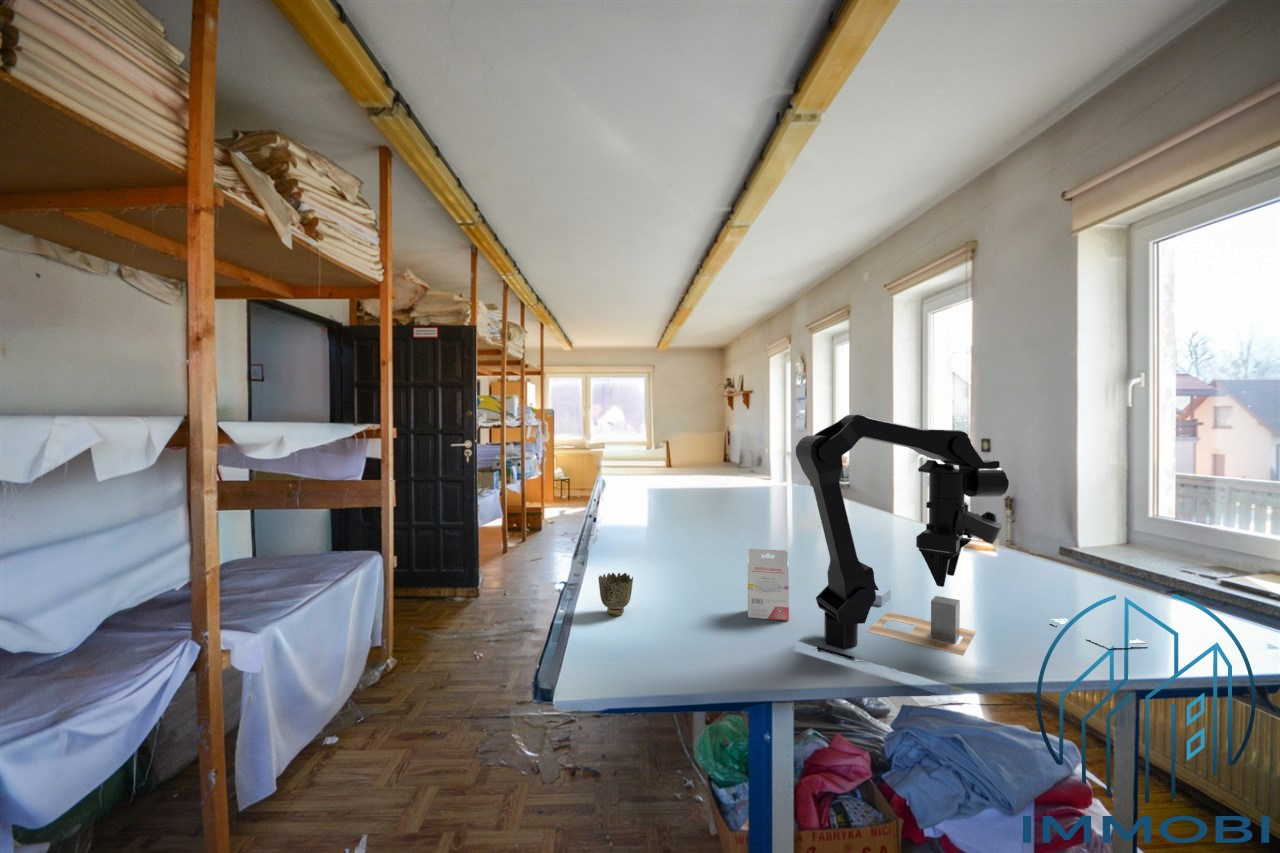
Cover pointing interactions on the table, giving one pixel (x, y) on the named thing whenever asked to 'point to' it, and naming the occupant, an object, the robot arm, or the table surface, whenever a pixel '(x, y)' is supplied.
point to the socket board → (921, 633)
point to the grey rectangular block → (945, 619)
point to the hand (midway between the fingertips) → (945, 580)
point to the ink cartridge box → (768, 585)
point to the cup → (615, 592)
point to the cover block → (882, 596)
